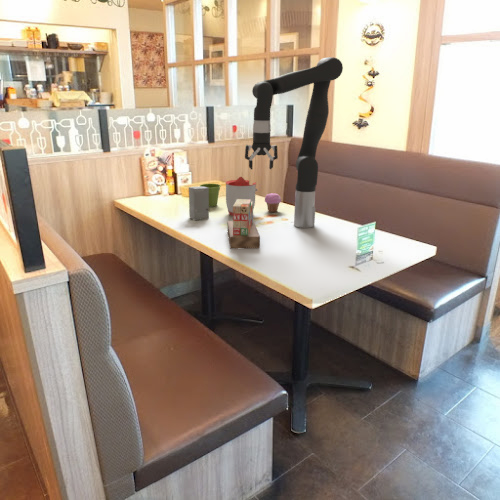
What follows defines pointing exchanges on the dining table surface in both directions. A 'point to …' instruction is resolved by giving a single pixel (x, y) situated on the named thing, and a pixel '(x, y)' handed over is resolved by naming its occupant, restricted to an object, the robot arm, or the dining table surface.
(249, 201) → the stack of blocks
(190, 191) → the skincare box
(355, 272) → the dining table surface
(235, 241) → the walnut block
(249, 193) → the citrus juicer
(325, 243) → the dining table surface
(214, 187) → the plant pot
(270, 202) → the cupcake
